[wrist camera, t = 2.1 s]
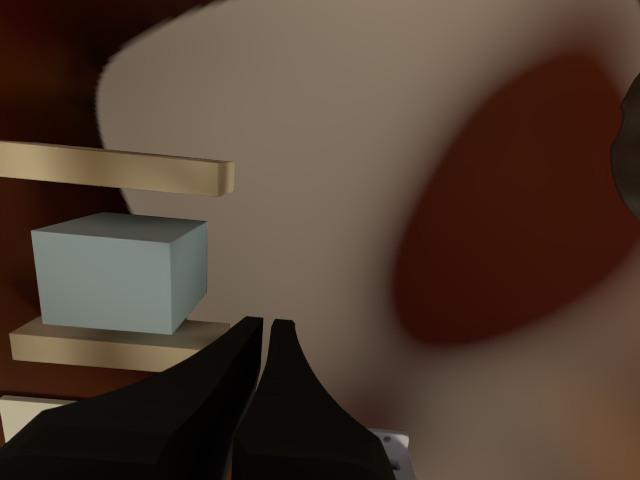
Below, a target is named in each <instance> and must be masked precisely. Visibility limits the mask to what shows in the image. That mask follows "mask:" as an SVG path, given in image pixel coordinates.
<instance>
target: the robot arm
mask: <svg viewBox="0 0 640 480" xmlns="http://www.w3.org/2000/svg"><path fill="white" fill-rule="evenodd" d="M262 333H263V318H260V317H249V316H246V317H245V318H243V319H242V320H241V321H240V322H238V323H237V324H236V325H234V326H233V327H232V328H231V329H229V330H228V331H227V332H226V333H224V334H223V335H222V336H220V337H219V338H218V339H216V340H215V341H213V342H212V343H210V344H209V345H207V346H206V347H204V348H203V349H201V350H200V351H198V352H197V353H195V354H194V355H192V356H190V357H189V358H187V359H185V360H183V361H182V362H180V363H178V364H176V365H174V366H172V367H170V368H168V369H166V370H164V371H162V372H159V373H157V374H155V375H152V376H150V377H148V378H146V379H143V380H141V381H139V382H136V383H134V384H131V385H128V386H125V387H123V388H120V389H117V390H114V391H111V392H108V393H105V394H102V395H99V396H95V397H92V398H89V399H85V400H81V401H77V402H73V403H70V404H66V405H62V406H58V407H54V408H50V409H46V410H42V411H41V412H40V413H39V414H38V415H36V416H35V417H34V418H33V419H32V420H31V421H30V422H29V423H28V424H26V425H25V426H24V427H23V428H22V429H21V430H20V431H19V432H18V433H17V434H15V435H14V436H13V437H12V438H11V439H10V440H9V441H8V442H7V443H6V444H4V445H3V446H2V447H1V448H0V480H226V478H227V474H228V470H229V467H230V464H231V460H232V478H231V480H416V476H415V473H414V469H413V466H412V463H411V459H410V456H409V452H408V449H407V447H408V442H409V438H408V435H407V433H406V432H405V431H399V430H388V429H375V428H365V427H364V426H363V425H361V424H360V423H359V422H357V421H356V420H355V419H354V418H352V417H351V416H350V415H349V414H348V413H347V412H346V411H344V410H343V409H342V408H341V407H340V406H339V405H338V404H337V403H336V401H335V400H334V399H333V398H332V397H331V396H330V395H329V394H328V393H327V391H326V390H325V389H324V387H323V386H322V385H321V383H320V382H319V380H318V379H317V377H316V376H315V374H314V373H313V371H312V369H311V367H310V366H309V364H308V362H307V360H306V358H305V356H304V354H303V351H302V349H301V347H300V344H299V341H298V339H297V335H296V331H295V323H294V322H293V321H292V320H282V319H275V320H274V322H273V324H272V326H271V334H270V342H269V349H268V357H267V362H266V365H265V369H264V371H263V374H262V377H261V380H260V382H259V385H258V387H257V390H256V386H257V381H258V377H259V373H260V368H261V351H262ZM255 390H256V392H255ZM254 394H255V395H254ZM387 436H388V438H384V437H387Z"/></svg>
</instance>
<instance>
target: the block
mask: <svg viewBox="0 0 640 480" xmlns="http://www.w3.org/2000/svg"><path fill="white" fill-rule="evenodd" d="M207 232H208V221H199V220H189V219H178V218H167V217H156V216H144V215H134V214H133V215H131V214H120V213H109V212H101V213H97V214H94V215H90V216H86V217H82V218H78V219H74V220H70V221H66V222H63V223H59V224H55V225H51V226H47V227H43V228H39V229H35V230H32V231H31V235H32V243H33V251H34V259H35V267H36V275H37V282H38V290H39V298H40V306H41V314H42V322H43V324H49V325H61V326H73V327H85V328H96V329H108V330H120V331H132V332H144V333H156V334H168V335H172V334H173V333H174V331H175V330H176V329H177V328H178V327H179V325H180V324H181V323H182V322H183V321H184V319H185V318H186V317H187V316H188V315H189V313H190V312H191V311H192V310H193V308H194V307H195V306H196V305H197V304H198V302H199V301H200V300H201V299H202V298H203V296H204V295H205V294H206V293H207V240H208V237H207V235H208V233H207Z"/></svg>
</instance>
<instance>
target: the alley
mask: <svg viewBox="0 0 640 480" xmlns="http://www.w3.org/2000/svg"><path fill="white" fill-rule="evenodd" d="M234 164H235V162H229V161H219V160H209V159H198V158H188V157H178V156H168V155H157V154H148V153H138V152H127V151H117V150H107V149H97V148H87V147H77V146H67V145H56V144H46V143H36V142H17V141H0V176H1V177H12V178H22V179H32V180H43V181H53V182H64V183H74V184H85V185H95V186H105V187H116V188H126V189H137V190H147V191H158V192H168V193H179V194H189V195H199V196H210V197H219V196H222V195H224V194H227V193H229V192H232V191H234ZM229 329H230V324H226V323H214V322H202V321H191V320H184V321H183V322H182V323H181V324H180V325H179V327H178V328H177V329H176V330H175V331H174V333H173V334H172V335H168V334H156V333H144V332H132V331H120V330H108V329H96V328H85V327H73V326H61V325H49V324H43V322H42V315H41V316H39V317H37V318H36V319H34V320H32V321H30V322H29V323H27V324H25V325H23V326H22V327H20V328H18V329H16V330H15V331H13V332H11V333H9V336H10V342H11V349H12V355H13V360H23V361H35V362H47V363H58V364H70V365H82V366H94V367H106V368H118V369H130V370H142V371H153V372H162V371H164V370H166V369H168V368H170V367H172V366H174V365H176V364H178V363H180V362H182V361H183V360H185V359H187V358H189V357H190V356H192V355H194V354H195V353H197V352H198V351H200V350H201V349H203V348H204V347H206V346H207V345H209V344H210V343H212V342H213V341H215V340H216V339H218V338H219V337H220V336H222V335H223V334H224V333H226V332H227V331H228V330H229Z"/></svg>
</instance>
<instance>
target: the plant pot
mask: <svg viewBox="0 0 640 480" xmlns="http://www.w3.org/2000/svg"><path fill="white" fill-rule="evenodd" d="M620 108H621V110H622V115H623V118H622V124H621V126H620V129H619V132H618V134H617V137H616V139H615V140H614V142H613V143H612V145H611V149H610V153H611V154H610V161H611V169H612V175H613V180H614V182H615V185H616V188H617V191H618V193H619V195H620V197H621V199H622V201H623V202H624V204H625V206H626V207H627V208H628V209H629V211H630V212H631V213H632V214H633V216H634V217H635V218H636V219H637V220H638V221H640V73H639V74H638V76H637V77H636V78H635V80H634V81H633V83H632V84H631V87H630V88H629V90H628V92H627V94H626V96H625V98H624V99H623V101H622V103H621V107H620Z"/></svg>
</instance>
